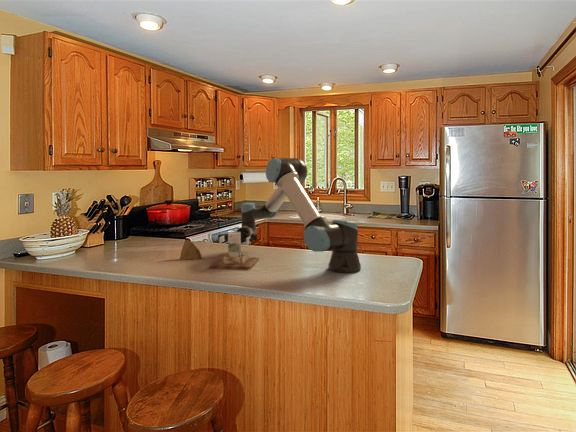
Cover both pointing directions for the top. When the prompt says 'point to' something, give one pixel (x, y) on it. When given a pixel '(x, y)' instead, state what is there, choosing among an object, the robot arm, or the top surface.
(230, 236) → the syrup box
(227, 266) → the socket board
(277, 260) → the top surface
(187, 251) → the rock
